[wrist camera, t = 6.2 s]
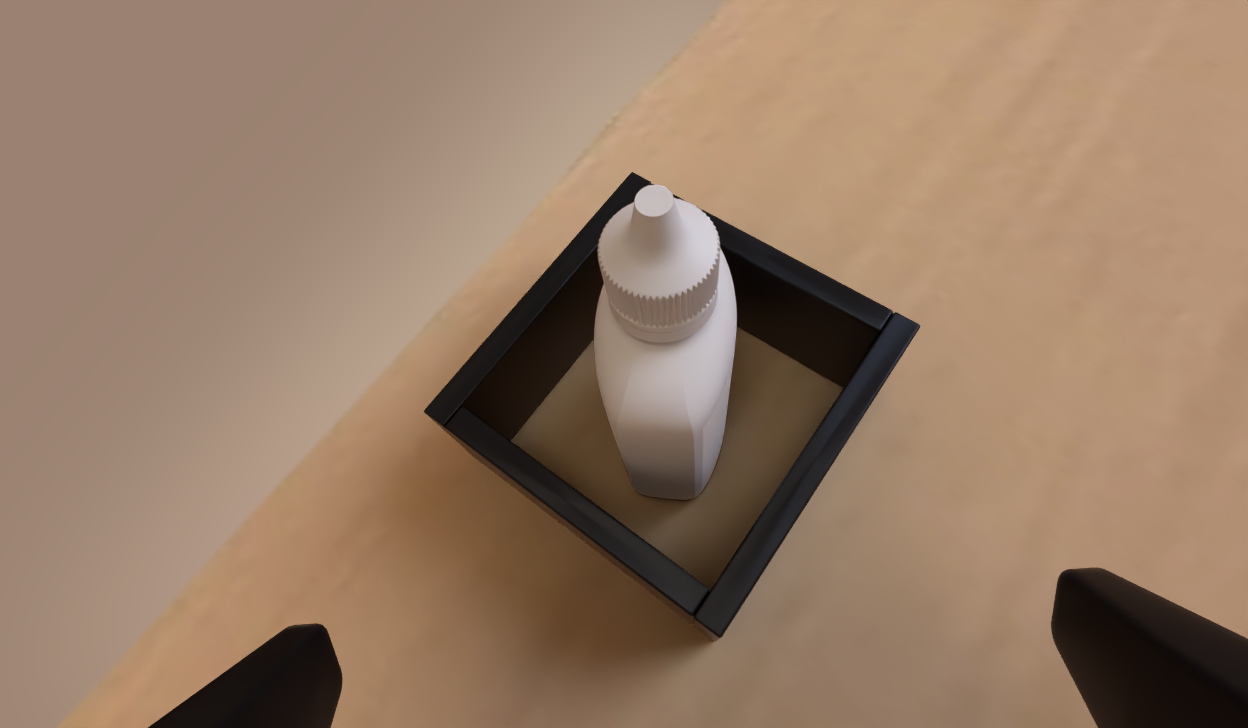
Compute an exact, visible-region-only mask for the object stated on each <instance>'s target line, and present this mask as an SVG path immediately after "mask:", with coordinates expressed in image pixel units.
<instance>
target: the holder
mask: <svg viewBox="0 0 1248 728" xmlns="http://www.w3.org/2000/svg"><path fill="white" fill-rule="evenodd" d="M649 185H655V184H651V182H650V181H648V180H646V179H644V178H642V177H641V176H639V175H637V174H635V173H633V172H632V173H631V174H630V175H629V176H628V177H627V178H626V179H625V180H624V182H623V183H622V184H621V185H620V186H619V187H618V189H617V190H616V191H615V192H614V193H613V194H612V195H611V197H610V198H609V199H608V200H607V201H606V202H605V203H604V205H603V206H602V207H601V208H600V209H599V210H598V211H597V213H596V214H595V215H594V216H593V217H592V218H591V220H590V221H589V222H588V223H587V224H586V225H585V226H584V228H583V229H582V230H581V231H580V232H579V233H578V234H577V236H576V237H575V238H574V239H573V240H572V241H571V242H570V244H569V245H568V246H567V247H566V248H565V249H564V251H563V252H562V253H561V254H560V255H559V256H558V257H557V259H556V260H555V261H554V262H553V263H552V264H551V265H550V267H549V268H548V269H547V270H546V271H545V272H544V273H543V275H542V276H541V277H540V278H539V279H538V280H537V282H536V283H535V284H534V285H533V286H532V287H531V288H530V290H529V291H528V292H527V293H526V294H525V295H524V296H523V298H522V299H521V300H520V301H519V302H518V303H517V304H516V306H515V307H514V308H513V309H512V310H511V311H510V313H509V314H508V315H507V316H506V317H505V318H504V319H503V321H502V322H501V323H500V324H499V325H498V326H497V327H496V329H495V330H494V331H493V332H492V333H491V334H490V335H489V337H488V338H487V339H486V340H485V341H484V342H483V344H482V345H481V346H480V347H479V348H478V349H477V350H476V352H475V353H474V354H473V355H472V356H471V357H470V358H469V360H468V361H467V362H466V363H465V364H464V365H463V366H462V368H461V369H460V370H459V371H458V372H457V373H456V375H455V376H454V377H453V378H452V379H451V380H450V381H449V383H448V384H447V385H446V386H445V387H444V388H443V389H442V391H441V392H440V393H439V394H438V395H437V396H436V397H435V399H434V400H433V401H432V402H431V403H430V404H429V406H428V407H427V408H426V409H425V410H424V412H425V413H426V414H427V415H428V416H429V417H430V418H431V419H432V420H433V421H434V422H436V423H437V424H438V425H439V426H440V427H441V428H442V429H443V430H444V431H446V432H447V433H448V434H449V435H450V436H451V437H452V438H453V439H455V440H456V441H457V442H458V443H459V444H460V445H461V446H462V447H463V448H465V449H466V450H467V451H468V452H469V453H470V454H471V455H472V456H474V457H475V458H476V459H478V460H479V461H480V462H481V463H483V464H484V465H485V466H487V467H488V468H489V469H491V470H492V471H493V472H495V473H496V474H497V475H498V476H500V477H501V478H502V479H504V480H505V481H506V482H508V483H509V484H510V485H511V486H513V487H514V488H515V489H517V490H518V491H519V492H520V493H522V494H523V495H524V496H526V497H527V498H528V499H530V500H531V501H532V502H533V503H535V504H536V505H537V506H539V507H540V508H541V509H543V510H544V511H545V512H546V513H548V514H549V515H550V516H552V517H553V518H554V519H556V520H557V521H558V522H559V523H561V524H562V525H563V526H565V527H566V528H567V529H569V530H570V531H571V532H572V533H574V534H575V535H576V536H578V537H579V538H580V539H582V540H583V541H584V542H585V543H587V544H588V545H589V546H591V547H592V548H593V549H595V550H596V551H597V552H598V553H600V554H601V555H602V556H604V557H605V558H606V559H608V560H609V561H610V562H611V563H613V564H614V565H615V566H617V567H618V568H619V569H621V570H622V571H623V572H624V573H626V574H627V575H628V576H630V577H631V578H632V579H634V580H635V581H636V582H637V583H639V584H640V585H641V586H643V587H644V588H645V589H647V590H648V591H649V592H650V593H652V594H653V595H654V596H656V597H657V598H658V599H660V600H661V601H662V602H663V603H665V604H666V605H667V606H669V607H670V608H671V609H672V610H674V611H675V612H676V613H678V614H679V615H680V616H682V617H683V618H684V619H685V620H687V621H688V622H689V623H691V624H694V626H695V627H696V628H697V629H698V630H700V631H701V632H702V633H704V634H705V635H706V636H708V637H709V638H710V639H711V640H713V641H717V640H718V639H719V638H721V637H722V636H723V634H724V633H725V631H726V629H727V628H728V626H729V625H730V623H731V622H732V620H733V618H734V617H735V615H736V614H737V612H738V611H739V609H740V608H741V606H742V604H743V603H744V601H745V600H746V598H747V597H748V595H749V594H750V592H751V590H752V589H753V587H754V586H755V584H756V583H757V581H758V579H759V578H760V576H761V575H762V573H763V572H764V570H765V569H766V567H767V565H768V564H769V562H770V561H771V559H772V558H773V556H774V554H775V553H776V551H777V550H778V548H779V547H780V545H781V544H782V542H783V540H784V539H785V537H786V536H787V534H788V533H789V531H790V530H791V528H792V526H793V525H794V523H795V522H796V520H797V519H798V517H799V515H800V514H801V512H802V511H803V509H804V508H805V506H806V505H807V503H808V501H809V500H810V498H811V497H812V495H813V494H814V492H815V490H816V489H817V487H818V486H819V484H820V483H821V481H822V480H823V478H824V476H825V475H826V473H827V472H828V470H829V469H830V467H831V466H832V464H833V462H834V461H835V459H836V458H837V456H838V455H839V453H840V451H841V450H842V448H843V447H844V445H845V444H846V442H847V441H848V439H849V437H850V436H851V434H852V433H853V431H854V430H855V428H856V426H857V425H858V423H859V422H860V420H861V419H862V417H863V416H864V414H865V412H866V411H867V409H868V408H869V406H870V405H871V403H872V402H873V400H874V398H875V397H876V395H877V394H878V392H879V391H880V389H881V387H882V386H883V384H884V383H885V381H886V380H887V378H888V377H889V375H890V373H891V372H892V370H893V369H894V367H895V366H896V364H897V362H898V361H899V359H900V358H901V356H902V355H903V353H904V352H905V350H906V348H907V347H908V345H909V344H910V342H911V341H912V339H913V338H914V336H915V334H916V333H917V331H918V330H919V328H920V325H919V324H917V323H915V322H914V321H912V320H910V319H908V318H906V317H904V316H902V315H900V314H898V313H896V312H895V313H893V311H892V310H890V309H888V308H887V307H885V306H883V305H881V304H879V303H877V302H875V301H873V300H871V299H870V298H868V297H866V296H864V295H862V294H860V293H858V292H856V291H854V290H853V289H851V288H849V287H847V286H845V285H843V284H841V283H839V282H838V281H836V280H834V279H832V278H830V277H828V276H826V275H824V274H822V273H821V272H819V271H817V270H815V269H813V268H811V267H809V266H807V265H805V264H804V263H802V262H800V261H798V260H796V259H794V258H792V257H790V256H788V255H787V254H785V253H783V252H781V251H779V250H777V249H775V248H773V247H772V246H770V245H768V244H766V243H764V242H762V241H760V240H758V239H756V238H755V237H753V236H751V235H749V234H747V233H745V232H743V231H741V230H739V229H738V228H736V227H734V226H732V225H730V224H728V223H726V222H724V221H722V220H721V219H719V218H717V217H715V216H713V215H711V214H709V213H707V212H706V211H704V210H702V209H701V210H702V212H704V213H706V216H708V217H710V220H711V221H712V222H713V225H714V226H715V227H716V231H717V232H718V236H719V242H720V248H721V250H722V252H723V254H724V256H725V259H726V261H727V264H728V266H729V270H730V273H731V276H732V281H733V285H734V290H735V298H736V309H737V326H739V327H741V328H743V329H744V330H746V331H748V332H749V333H751V334H753V335H755V336H756V337H758V338H760V339H761V340H763V341H765V342H767V343H768V344H770V345H772V346H773V347H775V348H777V349H779V350H780V351H782V352H784V353H785V354H787V355H789V356H790V357H792V358H794V359H796V360H797V361H799V362H801V363H802V364H804V365H806V366H808V367H809V368H811V369H813V370H814V371H816V372H818V373H820V374H821V375H823V376H825V377H826V378H828V379H830V380H832V381H833V382H835V383H837V384H838V385H840V386H842V387H844V389H843V390H842V392H841V393H840V395H839V396H838V398H837V399H836V401H835V402H834V404H833V405H832V407H831V408H830V410H829V411H828V413H827V414H826V416H825V417H824V419H823V420H822V422H821V423H820V425H819V426H818V428H817V429H816V431H815V433H814V434H813V436H812V437H811V439H810V440H809V442H808V443H807V445H806V446H805V448H804V449H803V451H802V452H801V454H800V455H799V457H798V458H797V460H796V461H795V463H794V464H793V466H792V467H791V469H790V470H789V472H788V473H787V475H786V476H785V478H784V479H783V481H782V482H781V484H780V486H779V487H778V489H777V490H776V492H775V493H774V495H773V496H772V498H771V499H770V501H769V502H768V504H767V505H766V507H765V508H764V510H763V511H762V513H761V514H760V516H759V517H758V519H757V520H756V522H755V523H754V525H753V526H752V528H751V529H750V531H749V532H748V534H747V536H746V537H745V539H744V540H743V542H742V543H741V545H740V546H739V548H738V549H737V551H736V552H735V554H734V555H733V557H732V558H731V560H730V561H729V563H728V564H727V566H726V567H725V569H724V570H723V572H722V573H721V575H720V576H719V578H718V579H717V581H716V582H715V584H714V585H713V587H712V589H711V590H710V592H709V588H708V587H707V586H705V585H704V584H703V583H701V582H700V581H699V580H697V579H696V578H695V577H693V576H692V575H691V574H689V573H688V572H687V571H685V570H684V569H683V568H681V567H680V566H679V565H677V564H676V563H674V562H673V561H672V560H670V559H669V558H668V557H666V556H665V555H664V554H662V553H661V552H660V551H658V550H657V549H656V548H654V547H653V546H652V545H650V544H649V543H648V542H646V541H645V540H643V539H642V538H641V537H639V536H638V535H637V534H635V533H634V532H633V531H631V530H630V529H629V528H627V527H626V526H625V525H623V524H622V523H621V522H619V521H618V520H617V519H615V518H614V517H612V516H611V515H610V514H608V513H607V512H606V511H604V510H603V509H602V508H600V507H599V506H598V505H596V504H595V503H594V502H592V501H591V500H590V499H588V498H587V497H585V496H584V495H583V494H581V493H580V492H579V491H577V490H576V489H575V488H573V487H572V486H571V485H569V484H568V483H567V482H565V481H564V480H563V479H561V478H560V477H559V476H557V475H556V474H554V473H553V472H552V471H550V470H549V469H548V468H546V467H545V466H544V465H542V464H541V463H540V462H538V461H537V460H536V459H534V458H533V457H532V456H530V455H529V454H528V453H526V452H525V451H523V450H522V449H521V448H519V447H518V446H517V445H515V444H514V443H513V442H511V441H510V440H511V439H512V438H513V437H514V435H515V434H516V433H517V432H518V430H519V429H520V428H521V427H522V426H523V424H524V423H525V422H526V421H527V419H528V418H529V417H530V416H531V415H532V413H533V412H534V411H535V410H536V408H537V407H538V406H539V405H540V403H541V402H542V401H543V400H544V399H545V397H546V396H547V395H548V394H549V392H550V391H551V390H552V389H553V387H554V386H555V385H556V384H557V383H558V381H559V380H560V379H561V378H562V376H563V375H564V374H565V373H566V371H567V370H568V369H569V368H570V367H571V365H572V364H573V363H574V362H575V360H576V359H577V358H578V357H579V355H580V354H581V353H582V352H583V351H584V349H585V348H586V347H587V346H588V344H589V343H590V342H591V341H592V340H593V338H594V327H595V318H596V311H597V306H598V301H599V297H600V294H601V290H602V287H603V284H604V282H603V278H602V274H601V269H600V265H599V260H598V252H597V250H598V244H599V239H600V238H601V236H600V235H601V234H602V232H603V229H604V228H605V227H606V226H605V225H606V224H607V223H608V222H609V220H610V219H611V218H613V215H615V214H617V212H618V211H620V210H621V209H622V208H624V207H626V206H627V205H629V204H631V203H633V202H634V201H635V197H636V195H637V193H638V192H639V191H640V190H641V189H642V188H644V187H646V186H649ZM673 197H674V198H676V199H681V198H679V197H677V196H675V195H673ZM681 200H683V199H681ZM683 201H685V200H683ZM688 203H689V202H688ZM697 208H698V207H697ZM699 209H700V208H699Z"/></svg>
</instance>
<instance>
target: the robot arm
mask: <svg viewBox="0 0 1248 728" xmlns="http://www.w3.org/2000/svg"><path fill="white" fill-rule="evenodd" d="M1051 629H1052V635H1053V639H1054V642H1055V645H1056V647H1057V649H1058V651H1059V653H1060V655H1061V657H1062V659H1063V661H1064V663H1065V665H1066V667H1067V668H1068V670H1069V672H1070V674H1071V676H1072V678H1073V680H1074V682H1075V684H1076V686H1077V688H1078V690H1079V692H1080V694H1081V696H1082V698H1083V700H1084V702H1085V703H1086V705H1087V707H1088V709H1089V711H1090V713H1091V715H1092V717H1093V719H1094V721H1095V723H1096V725H1097V727H1098V728H1248V639H1247V638H1245V637H1243V636H1241V635H1239V634H1237V633H1235V632H1233V631H1231V630H1229V629H1227V628H1224V627H1222V626H1220V625H1218V624H1216V623H1214V622H1212V621H1210V620H1208V619H1206V618H1204V617H1202V616H1200V615H1198V614H1196V613H1194V612H1192V611H1189V610H1187V609H1185V608H1183V607H1181V606H1179V605H1177V604H1175V603H1173V602H1171V601H1169V600H1167V599H1165V598H1163V597H1161V596H1159V595H1156V594H1154V593H1152V592H1150V591H1148V590H1146V589H1144V588H1142V587H1140V586H1138V585H1136V584H1134V583H1132V582H1130V581H1128V580H1126V579H1124V578H1121V577H1119V576H1117V575H1115V574H1113V573H1111V572H1109V571H1107V570H1105V569H1102V568H1080V569H1068V570H1065V571H1063V572H1062V573H1061V574H1060V576H1059V578H1058V581H1057V588H1056V595H1055V601H1054V608H1053V615H1052V621H1051ZM341 690H342V672H341V668H340V665H339V662H338V660H337V657H336V654H335V651H334V648H333V645H332V642H331V639H330V636H329V634H328V631H327V629H326V628H325V627H324V626H323V625H321V624H302V625H293V626H289V627H287V628H285V629H284V630H282V631H281V632H280V633H278V634H277V635H275V636H274V637H273V638H271V639H270V640H269V641H267V642H266V643H264V644H263V645H262V646H260V647H259V648H257V649H256V650H255V651H253V652H252V653H251V654H249V655H248V656H246V657H245V658H244V659H242V660H241V661H240V662H238V663H237V664H235V665H234V666H233V667H231V668H230V669H228V670H227V671H226V672H224V673H223V674H222V675H220V676H219V677H217V678H216V679H215V680H213V681H212V682H210V683H209V684H208V685H206V686H205V687H204V688H202V689H201V690H199V691H198V692H197V693H195V694H194V695H192V696H191V697H190V698H188V699H187V700H186V701H184V702H183V703H181V704H180V705H179V706H177V707H176V708H174V709H173V710H172V711H170V712H169V713H168V714H166V715H165V716H163V717H162V718H161V719H159V720H158V721H156V722H155V723H154V724H152V725H151V726H150V727H148V728H331V724H332V721H333V718H334V714H335V711H336V708H337V704H338V701H339V698H340V694H341Z"/></svg>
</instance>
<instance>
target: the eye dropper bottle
mask: <svg viewBox="0 0 1248 728" xmlns="http://www.w3.org/2000/svg"><path fill="white" fill-rule="evenodd" d="M605 226H606V227H605V228H604V229H603V232H602V234H601V235H600V236H601V238H600V239H599V244H598V250H597V252H598V260H599V265H600V269H601V274H602V278H603V282H604V284H603V287H602V290H601V294H600V297H599V301H598V306H597V311H596V318H595V327H594V356H595V366H596V373H597V379H598V384H599V388H600V393H601V397H602V401H603V404H604V408H605V411H606V414H607V417H608V421H609V424H610V427H611V429H612V432H613V435H614V438H615V441H616V443H617V446H618V449H619V452H620V454H621V457H622V460H623V463H624V465H625V468H626V471H627V473H628V476H629V479H630V481H631V484H632V486H633V487H634V488H635V490H636V491H637V492H638V493H640V494H642V495H645V496H650V497H657V498H668V499H679V500H688V499H693V498H696V497H697V496H698V495H699V494H700V493H702V491H703V490H704V488H705V486H706V485H707V483H708V481H709V479H710V477H711V475H712V472H713V470H714V468H715V465H716V462H717V460H718V457H719V453H720V450H721V446H722V441H723V436H724V430H725V422H726V415H727V407H728V399H729V391H730V383H731V375H732V367H733V359H734V351H735V341H736V329H737V309H736V298H735V290H734V285H733V281H732V276H731V273H730V270H729V266H728V264H727V261H726V259H725V256H724V254H723V252H722V250H721V248H720V242H719V236H718V232H717V231H716V227H715V226H714V225H713V222H712V221H711V220H710V217H708V216H706V213H704V212H702V210H701V209H699V208H697V206H694V205H692V203H688V202H687V201H683V200H681V199H676V198H674V197H673V194H672V193H671V191H670V190H669V189H668V188H666V187H664V186H661V185H649V186H646V187H644V188H642V189H641V190H640V191H639V192H638V193H637V195H636V197H635V201H634V202H633V203H631V204H629V205H627V206H626V207H624V208H622V209H621V210H620V211H618V212H617V214H615V215H613V218H611V219H610V220H609V222H608V223H607V224H606V225H605Z"/></svg>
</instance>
